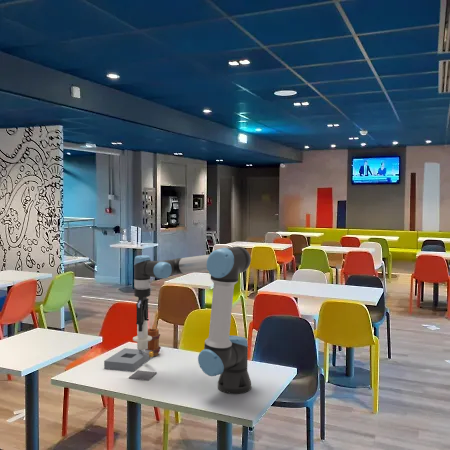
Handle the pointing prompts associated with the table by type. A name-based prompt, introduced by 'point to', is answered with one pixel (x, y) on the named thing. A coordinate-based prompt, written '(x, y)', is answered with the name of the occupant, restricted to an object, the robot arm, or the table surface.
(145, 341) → the plug
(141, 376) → the pad
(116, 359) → the socket
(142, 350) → the clip
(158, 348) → the mug
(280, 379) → the table surface
